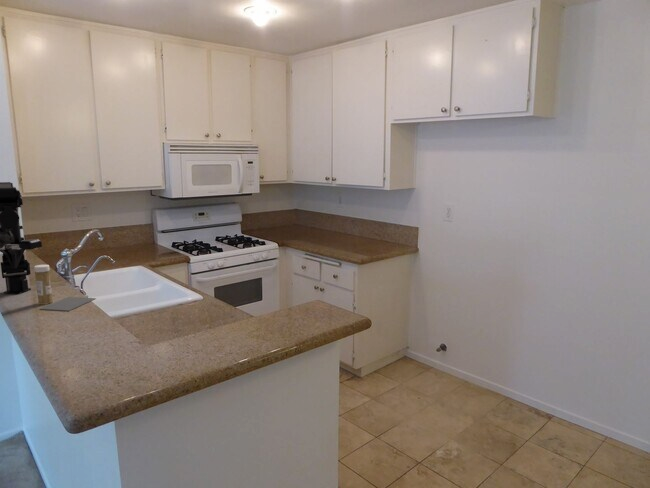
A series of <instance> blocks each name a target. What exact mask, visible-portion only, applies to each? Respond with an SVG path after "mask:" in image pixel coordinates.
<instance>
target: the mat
mask: <svg viewBox="0 0 650 488" xmlns="http://www.w3.org/2000/svg"><path fill="white" fill-rule="evenodd" d="M95 300H97V298H95V297H79V296H78V297H76V296H66V297H64V298H62V299H60V300H57V301H55V302H52V303H49V304H46V305H45V306H42V307H40V308H39V310H40V311H42V310H43V311H57V312H58V311H59V312H72V311H73V310H75V309H77V308H79V307H82V306H83V305H86V304H88V303H91V302H93V301H95Z"/></svg>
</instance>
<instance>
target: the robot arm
mask: <svg viewBox="0 0 650 488" xmlns="http://www.w3.org/2000/svg"><path fill="white" fill-rule="evenodd" d="M23 204H24V203H23V197H22V193H21V192H20V189H19V190H18V189H17V187H16V186H14V185H13V182H10V181H7V182H5V181H3V182H0V252H1V254H2V256H1V260H2V261H0V270H1V277H2V278H1V279H4V280H5V286H6V290H5V291H3V294H13V295H15V294H16V295H18V294H22V293H24V292H28V291H30V290H32V288H31V287H29V283H28V279H27V276H29V275H31V274H32V273H31V265H30V262H28V261H29V260H28V259H26V257H25V254H24V253H25V251H28V250H35V249H39V248H42V247H43V245H42V244H43V243H42V241H41V240H40V239H39V238H30V239H25V237H22V235H21V230H23V229H24V228H23V225H20V215H19V208H22V206H23Z"/></svg>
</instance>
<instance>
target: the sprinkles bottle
mask: <svg viewBox="0 0 650 488" xmlns="http://www.w3.org/2000/svg"><path fill="white" fill-rule="evenodd" d="M50 270H51V269H50V265H49V264H37V265H34V267H33V272H34V273H35V285H36V293H37V300H38V301H37V303H38V304H39V305H50V304H52V303H54V300H53V293H52V292H53V289H52V284H51V277H50Z"/></svg>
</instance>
